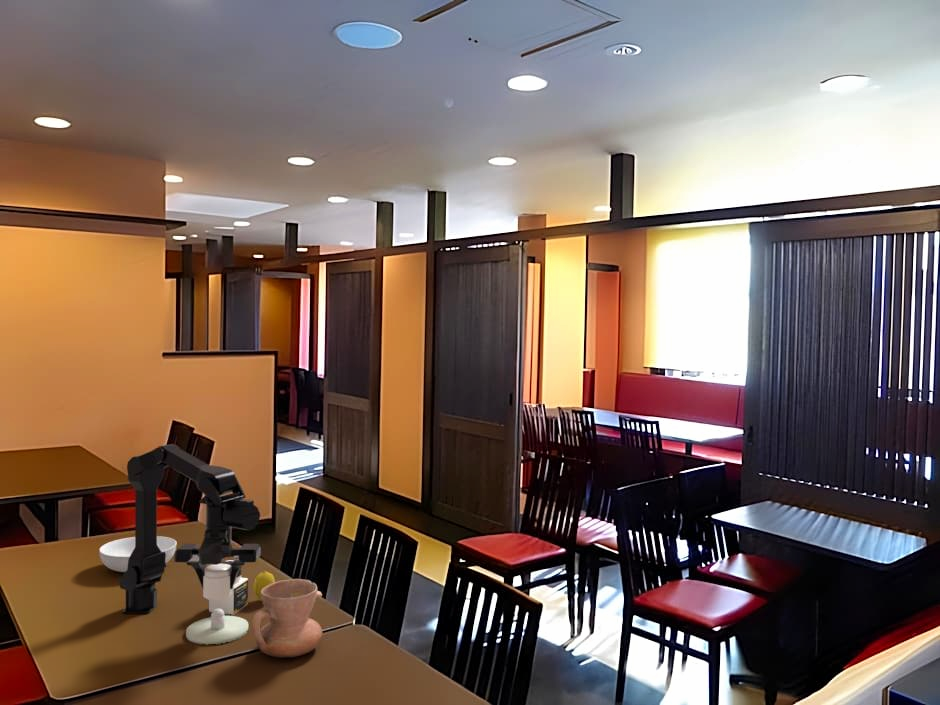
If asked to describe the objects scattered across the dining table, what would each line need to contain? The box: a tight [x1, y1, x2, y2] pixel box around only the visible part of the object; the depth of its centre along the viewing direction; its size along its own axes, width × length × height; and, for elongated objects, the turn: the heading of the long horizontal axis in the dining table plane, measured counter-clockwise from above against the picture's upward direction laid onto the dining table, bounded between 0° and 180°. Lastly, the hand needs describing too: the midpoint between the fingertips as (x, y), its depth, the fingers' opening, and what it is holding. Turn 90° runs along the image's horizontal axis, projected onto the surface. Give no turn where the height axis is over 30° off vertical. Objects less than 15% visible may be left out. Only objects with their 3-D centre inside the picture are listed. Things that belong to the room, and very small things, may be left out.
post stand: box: [185, 609, 249, 646], centre depth 171 cm, size 14×14×6 cm
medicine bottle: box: [208, 559, 249, 616], centre depth 185 cm, size 7×7×12 cm
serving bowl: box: [99, 535, 178, 573], centre depth 213 cm, size 21×21×7 cm
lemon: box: [253, 570, 276, 600], centre depth 190 cm, size 6×6×8 cm
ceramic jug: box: [251, 578, 323, 659], centre depth 162 cm, size 18×14×14 cm
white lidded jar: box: [202, 564, 232, 601], centre depth 171 cm, size 6×6×6 cm
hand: (217, 588), depth 171 cm, fingers closed on white lidded jar, 6 cm apart
